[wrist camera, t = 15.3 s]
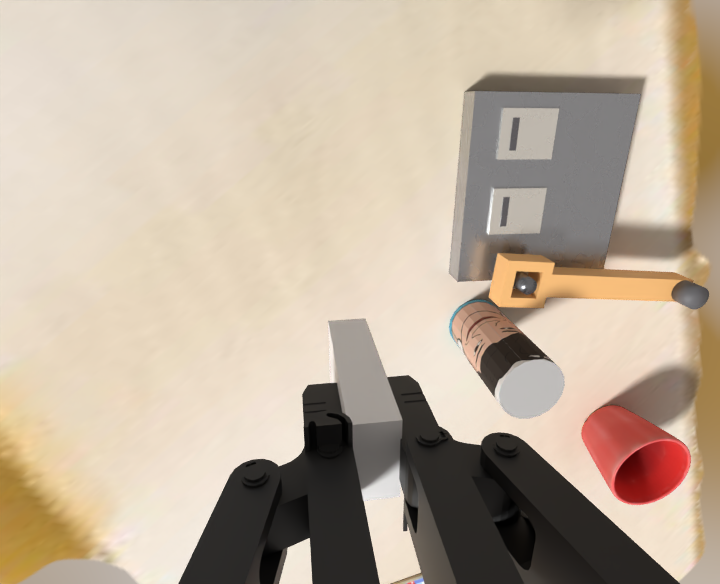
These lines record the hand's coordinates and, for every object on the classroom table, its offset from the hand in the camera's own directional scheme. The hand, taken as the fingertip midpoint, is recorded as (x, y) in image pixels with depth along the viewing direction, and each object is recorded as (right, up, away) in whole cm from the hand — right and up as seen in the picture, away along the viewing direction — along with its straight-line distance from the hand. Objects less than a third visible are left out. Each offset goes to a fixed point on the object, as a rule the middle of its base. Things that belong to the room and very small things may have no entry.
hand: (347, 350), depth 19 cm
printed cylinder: (+15, -2, +40) cm, 43 cm away
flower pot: (+37, -17, +50) cm, 64 cm away
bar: (+27, +4, +35) cm, 44 cm away
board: (+20, +14, +35) cm, 43 cm away
